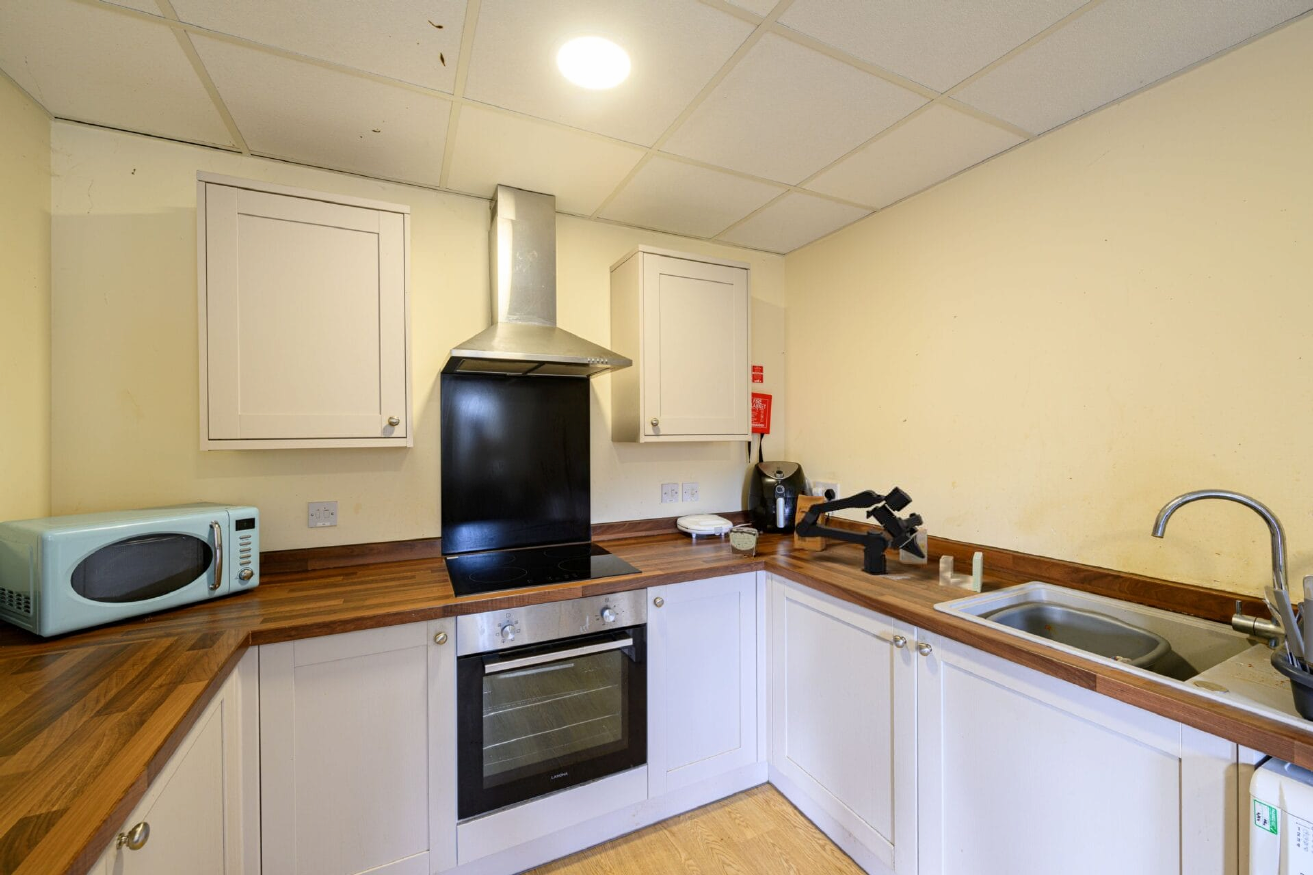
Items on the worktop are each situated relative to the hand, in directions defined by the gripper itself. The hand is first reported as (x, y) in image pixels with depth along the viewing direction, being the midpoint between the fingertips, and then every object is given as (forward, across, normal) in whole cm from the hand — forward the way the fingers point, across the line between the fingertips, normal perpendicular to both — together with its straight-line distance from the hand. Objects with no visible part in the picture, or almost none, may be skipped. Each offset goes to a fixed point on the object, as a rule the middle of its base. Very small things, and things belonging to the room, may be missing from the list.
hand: (924, 558), depth 172 cm
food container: (-39, -2, +50) cm, 63 cm away
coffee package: (-27, +23, +38) cm, 52 cm away
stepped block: (+12, 0, -2) cm, 12 cm away
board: (+16, 0, -6) cm, 17 cm away
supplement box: (+1, +22, +10) cm, 24 cm away
